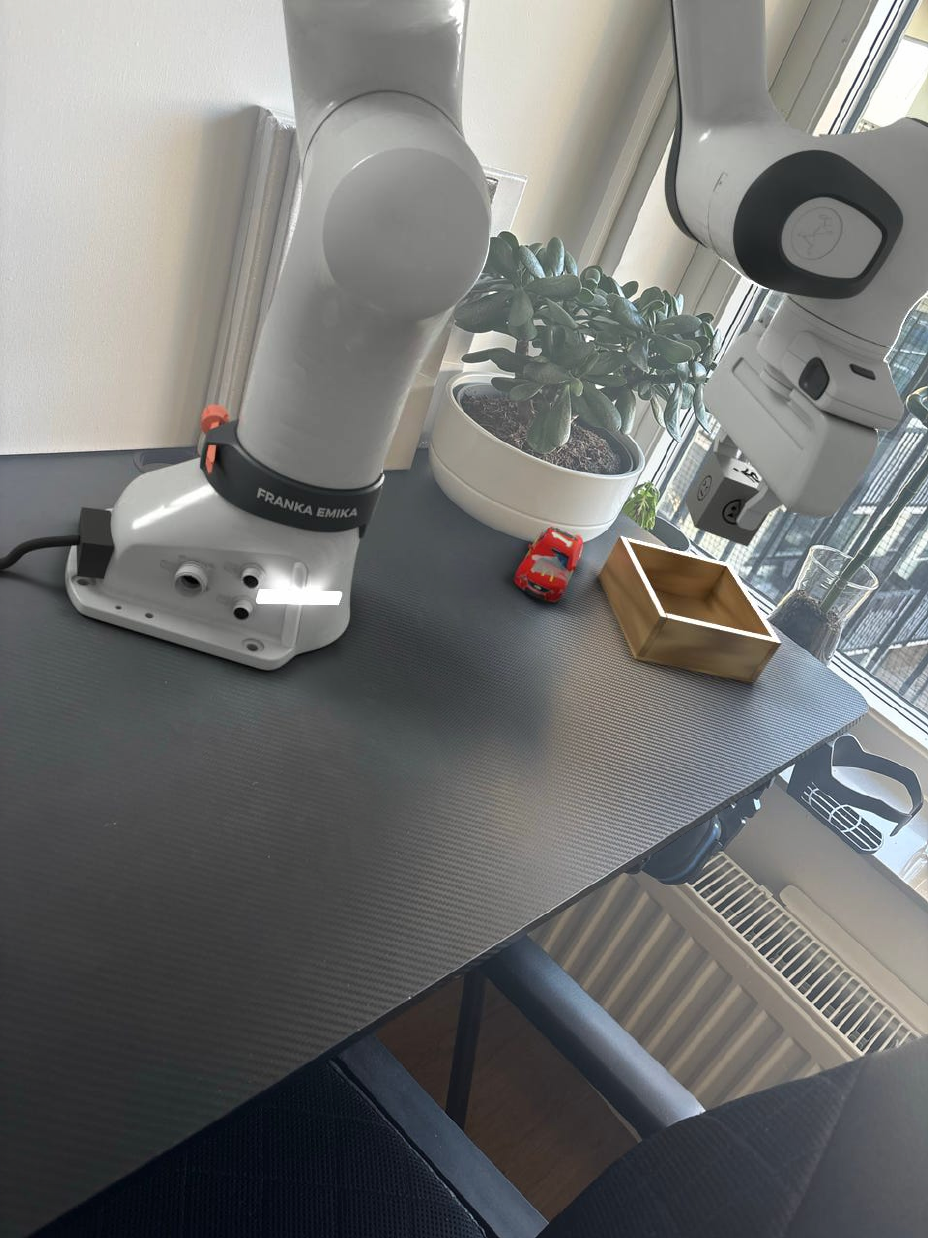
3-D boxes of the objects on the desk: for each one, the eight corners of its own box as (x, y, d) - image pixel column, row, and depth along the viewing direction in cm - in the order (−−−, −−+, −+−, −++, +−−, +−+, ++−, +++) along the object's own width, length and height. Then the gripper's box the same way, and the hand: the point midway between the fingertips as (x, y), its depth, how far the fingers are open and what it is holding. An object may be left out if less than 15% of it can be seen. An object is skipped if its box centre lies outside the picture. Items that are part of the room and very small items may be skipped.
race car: (553, 614, 93) (569, 582, 91) (504, 589, 94) (519, 556, 91) (581, 560, 104) (597, 531, 102) (537, 538, 105) (552, 508, 102)
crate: (634, 659, 92) (660, 616, 89) (597, 576, 103) (619, 535, 100) (754, 683, 96) (782, 643, 94) (706, 601, 107) (730, 563, 104)
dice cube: (747, 546, 80) (779, 497, 77) (694, 527, 79) (724, 476, 76) (735, 518, 84) (765, 470, 81) (685, 499, 83) (713, 450, 80)
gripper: (734, 294, 80) (657, 437, 87) (846, 399, 64) (741, 562, 72) (794, 317, 82) (714, 454, 90) (917, 424, 66) (808, 580, 74)
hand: (727, 503), depth 80 cm, fingers closed on dice cube, 5 cm apart
